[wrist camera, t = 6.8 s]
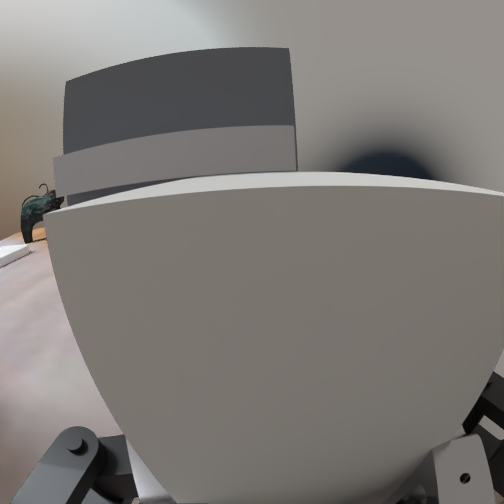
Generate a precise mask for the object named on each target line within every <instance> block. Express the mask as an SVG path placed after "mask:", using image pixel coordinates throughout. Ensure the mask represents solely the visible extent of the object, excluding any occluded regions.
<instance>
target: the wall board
mask: <svg viewBox="0 0 504 504" xmlns="http://www.w3.org/2000/svg"><path fill="white" fill-rule="evenodd" d="M63 120H64V121H63V147H64V148H63V149H64V155H61V156H58V157H55V158H53V164H54V179H55V191H56V198H58V197H62V196H67V203H68V207H69V206H72V205H76V204H79V203H83V202H86V201H90V200H94V199H97V198H101V197H105V196H109V195H113V194H117V193H121V192H126V191H130V190H134V189H139V188H143V187H148V186H152V185H157V184H162V183H167V182H172V181H178V180H183V179H188V178H194V177H201V176H213V175H226V174H242V173H261V172H294V171H298V164H297V144H296V125H295V111H294V97H293V85H292V74H291V63H290V53H289V48H269V47H239V48H218V49H206V50H196V51H187V52H179V53H172V54H166V55H160V56H154V57H149V58H144V59H140V60H135V61H131V62H127V63H123V64H119V65H115V66H112V67H108V68H105V69H101V70H98V71H95V72H92V73H89V74H86V75H83V76H80V77H77V78H74V79H72V80H69V81H67V82H66V85H65V97H64V118H63Z"/></svg>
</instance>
